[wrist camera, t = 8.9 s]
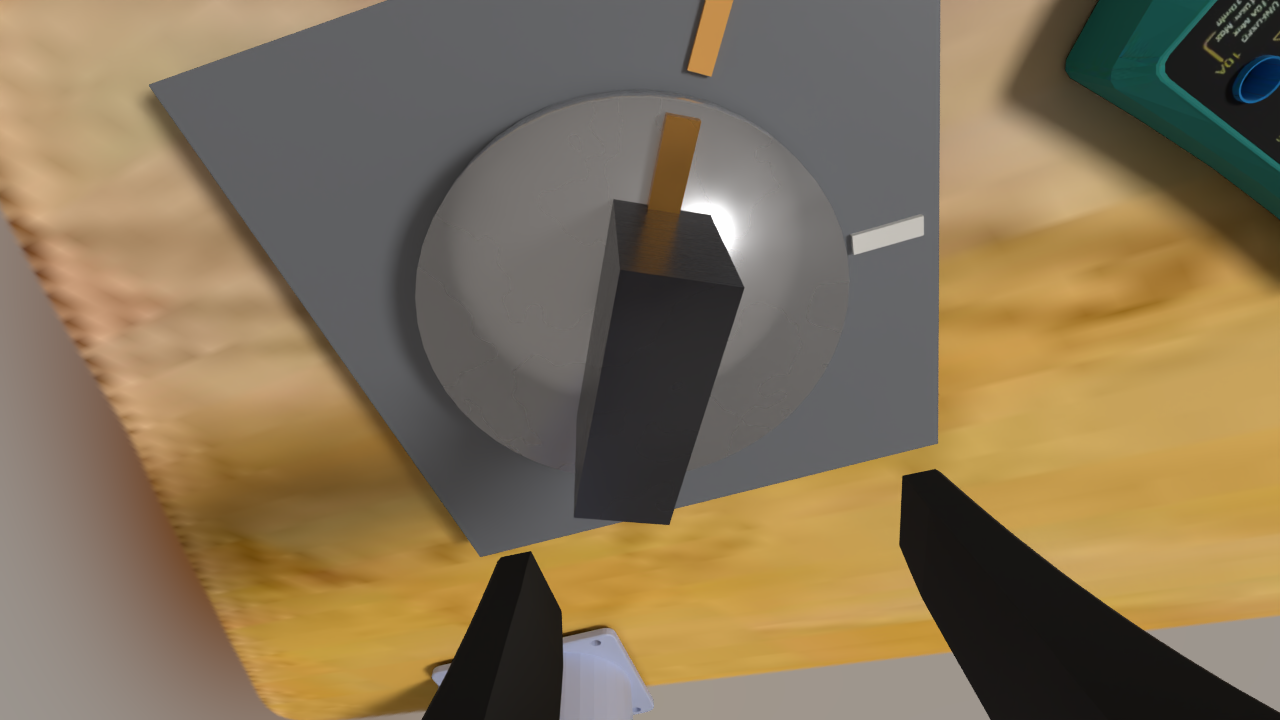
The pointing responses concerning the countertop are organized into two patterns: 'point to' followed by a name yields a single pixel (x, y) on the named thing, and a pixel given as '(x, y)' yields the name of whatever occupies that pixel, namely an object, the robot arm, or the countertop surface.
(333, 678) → the countertop surface
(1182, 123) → the digital multimeter
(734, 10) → the dial panel
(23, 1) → the countertop surface
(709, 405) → the dial
